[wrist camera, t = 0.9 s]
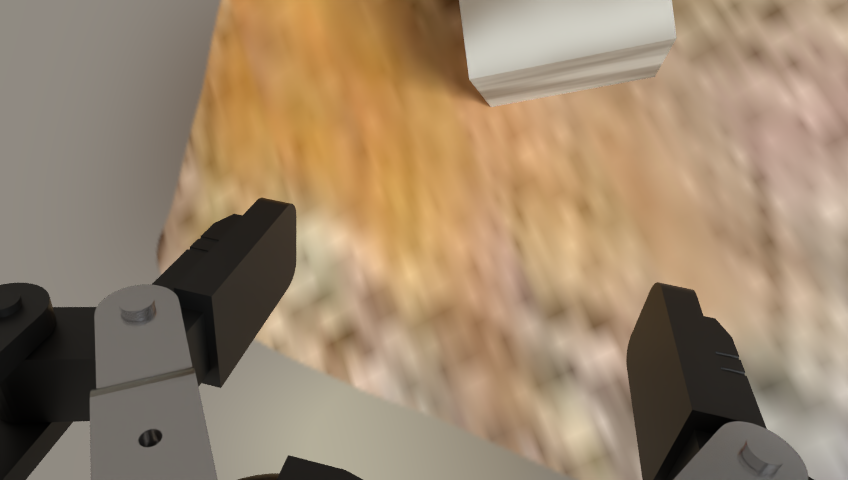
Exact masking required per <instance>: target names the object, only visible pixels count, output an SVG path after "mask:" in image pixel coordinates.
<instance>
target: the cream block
mask: <svg viewBox="0 0 848 480" xmlns="http://www.w3.org/2000/svg"><path fill="white" fill-rule="evenodd" d="M459 4H460V12H461V20H462V27H463V35H464V43H465V51H466V58H467V66H468V74H469V80H470V81H471V82H472V84H473V85H474V86H475V87H476V89H477V90H478V91H479V93H480V94H481V95H482V96H483V98H484V99H485V100H486V101H487V103H488V104H489V105H490V107H494V106H500V105H505V104H511V103H516V102H522V101H527V100H532V99H538V98H543V97H549V96H554V95H559V94H565V93H570V92H576V91H581V90H586V89H592V88H597V87H603V86H608V85H613V84H619V83H624V82H630V81H635V80H640V79H646V78H651V77H655V75H656V73H657V72H658V70H659V68H660V66H661V65H662V63H663V61H664V59H665V58H666V56H667V54H668V52H669V50H670V49H671V47H672V45H673V43H674V42H675V40H676V31H675V23H674V15H673V7H672V0H459Z"/></svg>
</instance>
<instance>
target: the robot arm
mask: <svg viewBox="0 0 848 480" xmlns="http://www.w3.org/2000/svg"><path fill="white" fill-rule="evenodd" d="M295 267H296V209H295V206H294V205H293V204H289V203H284V202H280V201H275V200H270V199H266V198H260V199H258V200H257V201H256V202H255V203H254V204H253V205H252V206H251V207H250V208H249V209H248V210H247V212H246V213H245V214H244V215H243V216H242V215H237V214H233V215H231V216H228V217H226V218H224V219H222V220H220V221H218V222H216V223H214V224H213V225H212V226H211V227H210V228H209V229H208V230H207V231H206V232H205V233H204V234H203V235H202V236H201V238H200V239H197V240H196V241H195V242H194V243H193V244H192V245H191V246H190V250H188V249H187V250H186V251H185V252H184V253H183V254H182V255H181V256H180V257H179V258H178V259H177V260H176V261H175V262H174V263H173V264H172V265H171V266H170V267H169V268H168V269H167V270H166V271H165V272H164V273H163V274H162V275H161V276H160V277H159V278H158V279H157V280H156V281H155V282H154V283H153V284H152V285H135V286H130V287H127V288H123V289H120V290H118V291H116V292H114V293H112V294H110V295H108V296H107V297H106V298H104V299H103V300H102V301H101V302H100V303H99V305H98V306H97V307H52V304H51V301H50V297H49V294H48V292H47V291H46V290H45V289H43V288H42V287H40V286H38V285H34V284H29V283H9V284H3V285H0V480H26V479H27V477H28V476H29V475H30V474H31V472H32V471H33V470H34V469H35V468H36V466H37V465H38V464H39V463H40V462H41V460H42V459H43V458H44V457H45V455H46V454H47V453H48V452H49V451H50V449H51V448H52V447H53V446H54V444H55V443H56V442H57V441H58V440H59V438H60V437H61V436H62V435H63V433H64V432H65V431H66V430H67V428H68V427H69V426H70V425H71V424H72V422H73V421H90V448H91V449H90V453H91V480H217V475H216V470H215V465H214V460H213V456H212V451H211V446H210V441H209V436H208V431H207V426H206V421H205V417H204V412H203V407H202V403H201V398H200V393H199V388H198V387H199V385H200V384H201V383H204V384H207V385H212V386H215V387H220V388H221V387H222V385H223V384H224V382H225V381H226V380H227V378H228V377H229V375H230V374H231V372H232V370H233V369H234V368H235V366H236V365H237V363H238V362H239V360H240V359H241V357H242V356H243V354H244V353H245V351H246V350H247V348H248V347H249V345H250V343H251V342H252V341H253V339H254V338H255V336H256V335H257V333H258V332H259V330H260V329H261V327H262V326H263V324H264V323H265V321H266V320H267V319H268V317H269V316H270V314H271V313H272V311H273V310H274V308H275V307H276V305H277V304H278V302H279V301H280V299H281V298H282V296H283V295H284V293H285V292H286V290H287V289H288V287H289V286H290V283H291V281H292V279H293V276H294V272H295ZM627 371H628V378H629V385H630V392H631V399H632V407H633V414H634V421H635V428H636V435H637V442H638V450H639V457H640V464H641V471H642V478H643V480H814V479H812V478H810V477H809V476H808V471H807V469H806V466H805V464H804V462H803V460H802V459H801V457H800V456H799V455H798V453H797V452H796V451H795V450H794V449H793V448H792V447H791V446H790V445H789V444H788V443H787V442H786V441H785V440H783V439H782V438H781V437H779V436H778V435H776V434H775V433H773V432H771V431H770V430H768V429H767V428H766V426H765V423H764V421H763V418H762V415H761V413H760V410H759V407H758V405H757V402H756V399H755V397H754V394H753V392H752V389H751V386H750V384H749V381H748V378H747V376H745V375H744V374H745V371H744V368H743V365H742V363H741V360H739V355H738V352H737V349H736V347H735V344H734V342H733V339H732V337H731V336H730V335H729V334H728V332H727V331H726V330H725V329H724V328H723V327H722V326H721V325H720V323H719V322H718V321H717V320H716V319H715V318H710V317H705V316H703V313H702V310H701V307H700V304H699V301H698V298H697V295H696V293H695V291H694V290H691V289H687V288H682V287H677V286H672V285H668V284H663V283H658V282H657V283H655V284H654V285H653V287H652V288H651V290H650V292H649V295H648V297H647V299H646V302H645V304H644V306H643V309H642V311H641V313H640V316H639V318H638V321H637V323H636V325H635V328H634V330H633V332H632V335H631V337H630V340H629V344H628V349H627ZM238 480H363V479H361V478H359V477H357V476H355V475H353V474H352V473H350V472H348V471H346V470H343V469H339V468H335V467H332V466H328V465H324V464H320V463H316V462H312V461H308V460H304V459H300V458H297V457H293V456H288V457H287V459H286V461H285V463H284V465H283V467H282V470H281V472H280V474H262V475H255V476H250V477H246V478H242V479H238Z"/></svg>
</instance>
